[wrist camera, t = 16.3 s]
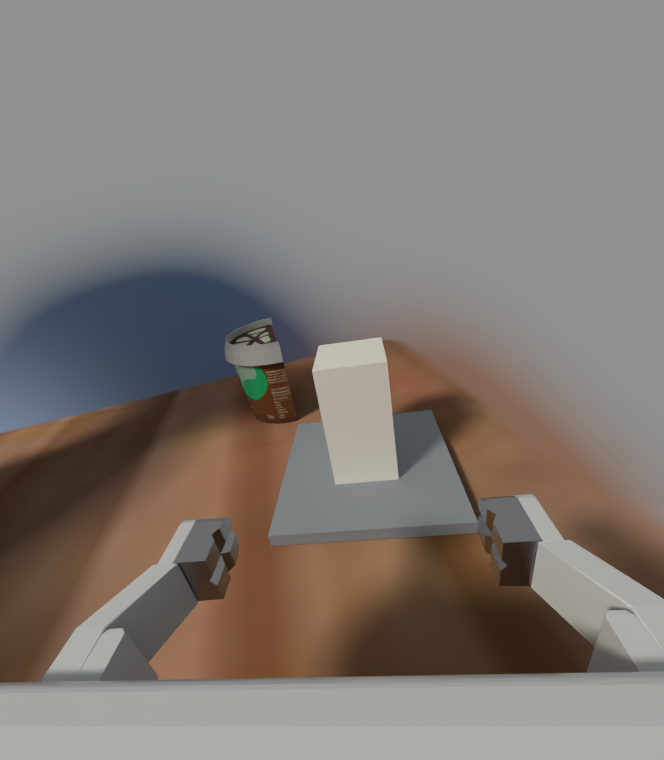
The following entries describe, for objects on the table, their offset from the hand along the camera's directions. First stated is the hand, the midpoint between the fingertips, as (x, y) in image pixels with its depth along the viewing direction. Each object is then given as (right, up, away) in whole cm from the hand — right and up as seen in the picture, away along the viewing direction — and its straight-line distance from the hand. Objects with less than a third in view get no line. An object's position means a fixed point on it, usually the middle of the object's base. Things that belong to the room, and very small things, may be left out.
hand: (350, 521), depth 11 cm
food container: (-9, +1, +31) cm, 32 cm away
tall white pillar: (+2, -2, +17) cm, 18 cm away
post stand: (+2, -3, +18) cm, 18 cm away
